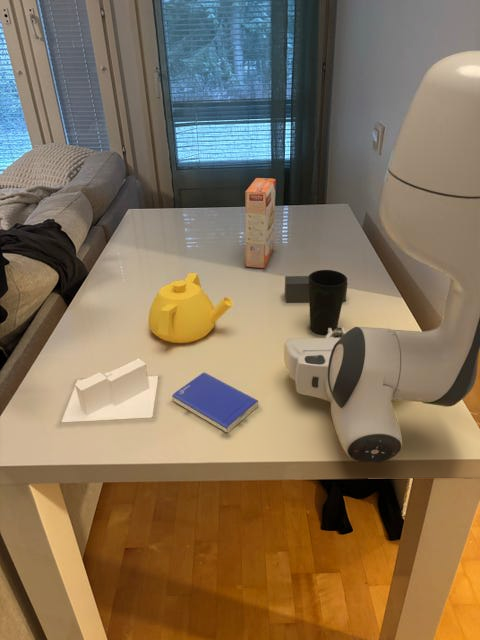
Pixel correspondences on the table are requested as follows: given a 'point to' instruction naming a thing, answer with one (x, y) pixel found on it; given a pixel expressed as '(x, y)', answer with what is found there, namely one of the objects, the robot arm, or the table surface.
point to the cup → (325, 299)
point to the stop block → (299, 289)
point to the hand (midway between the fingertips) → (335, 330)
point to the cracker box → (259, 222)
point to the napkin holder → (114, 395)
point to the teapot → (184, 311)
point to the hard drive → (215, 401)
